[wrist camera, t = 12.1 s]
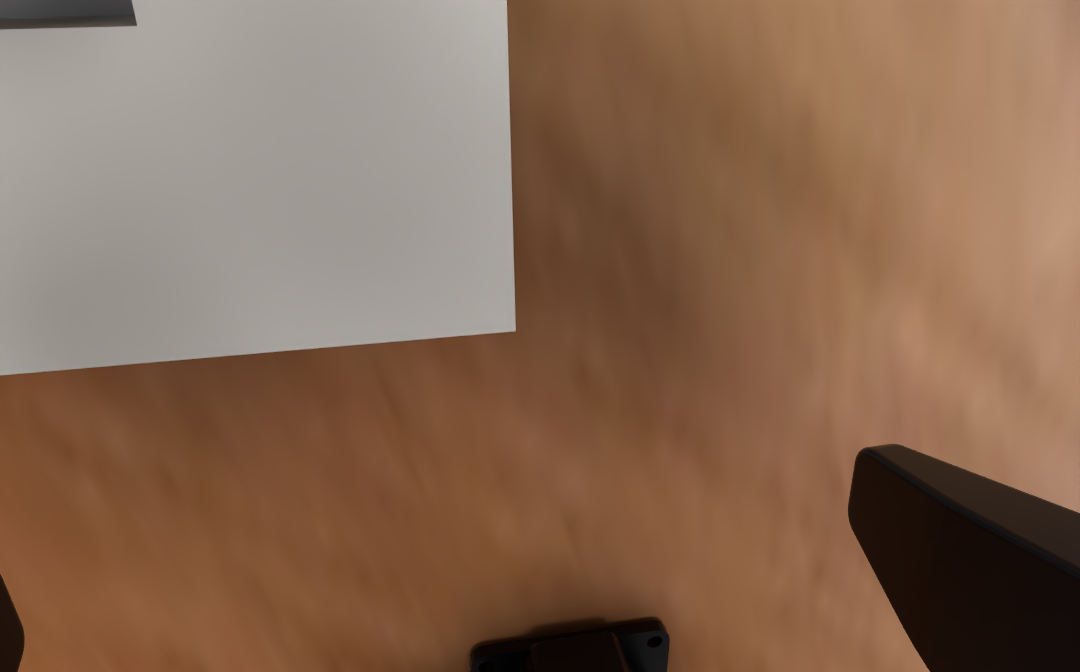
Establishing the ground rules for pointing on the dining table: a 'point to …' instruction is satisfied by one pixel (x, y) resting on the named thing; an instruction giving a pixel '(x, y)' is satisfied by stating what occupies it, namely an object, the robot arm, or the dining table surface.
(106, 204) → the socket block
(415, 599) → the dining table surface
